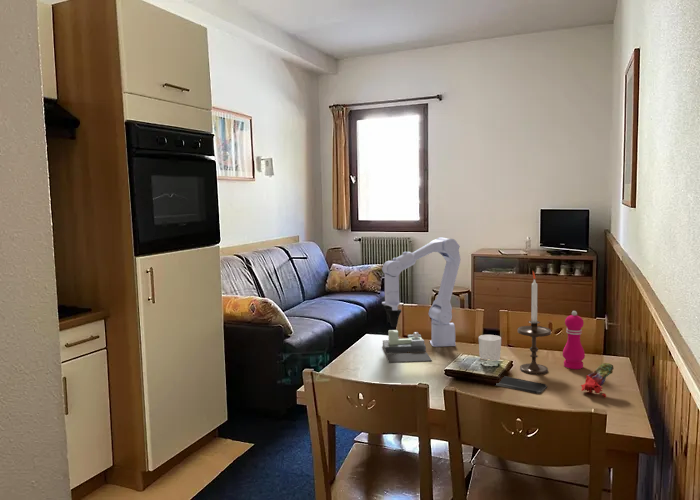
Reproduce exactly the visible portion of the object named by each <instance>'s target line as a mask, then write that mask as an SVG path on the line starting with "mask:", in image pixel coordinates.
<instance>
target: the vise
mask: <svg viewBox="0 0 700 500" xmlns="http://www.w3.org/2000/svg"><path fill="white" fill-rule="evenodd" d="M410 337H413V339H414V340H411V343H408V344H396V345H390V344H389V339H387V340H386V339H385V340H384V339H382V347H383V350H384V353H385V354H398V353H407V352H408V353H409V352H410V353H424V352H427V347H426V346H427V345H426V344H425V340H424V339H423V338H422V335H421V333H420V334H419V332H418V331H414V332H413V334H407V339H408V338H410ZM418 337H421V338H422V340H418Z"/></svg>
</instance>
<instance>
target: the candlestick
mask: <svg viewBox="0 0 700 500" xmlns="http://www.w3.org/2000/svg"><path fill="white" fill-rule="evenodd" d="M532 279H533V281H532V283H531V315H530V316H531V317H530V318H531V320H528V321H527V323H529V324H530V325H523V326H519V327H518V328H517V333H518V334H520V335H522V336H526V337H531V347H529V351H530V352H531V354H530V355H529V356H530V358H531V363H522V364H521V365H520V366H519V370H520V371H521V372H522V373H524V374H529V375H544V374H547V373H548V371H549V370H548V369H549V368H548V367H547V366H546V365H542V364H538V363H537V358H538V355H537V352H538V351H539V347H537V338H538V337H539V338H540V337H541V338H542V337H547V336H550V335H551V334H552V330H551V329H550V328H549V327H544V326H541V325H538V324H540V323H541V322H540V321H539V320H538V283H537V282H536V275H535V272H534V271H532Z"/></svg>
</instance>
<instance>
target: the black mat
mask: <svg viewBox="0 0 700 500" xmlns="http://www.w3.org/2000/svg"><path fill="white" fill-rule="evenodd" d="M385 355H386V359H387V362H388V364H393V363H394V364H397V363H422V362H433V360H432V358H431V357H430V356H429V353H428V352H427V351H426V352H410V353H385Z"/></svg>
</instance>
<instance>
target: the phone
mask: <svg viewBox="0 0 700 500" xmlns="http://www.w3.org/2000/svg"><path fill="white" fill-rule="evenodd" d="M503 376H504V377H503V378H502V379H501V381H500V382H499V383H496V385H495V386H497V387H502V388H507V389H512V390H517V391H520V392H521V391H522V392H527V393H531V394H536V395H540V394H542V393H543V392H544V391H546V390H547V387H548V386H547V385H548V384H546V383H542V382H536V381H533V380H532V381H531V380H526V379H520V378H516V377H510V376H505V375H503Z"/></svg>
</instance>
